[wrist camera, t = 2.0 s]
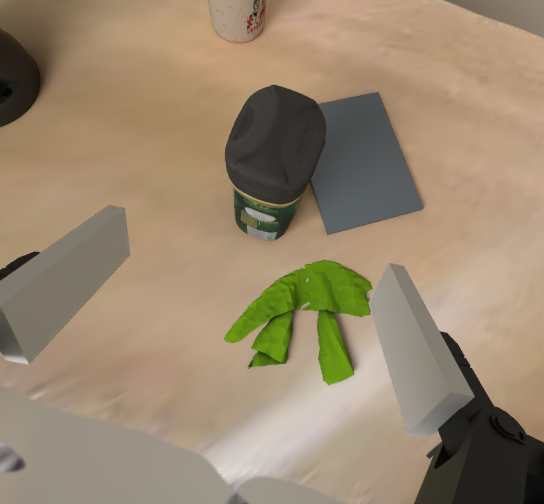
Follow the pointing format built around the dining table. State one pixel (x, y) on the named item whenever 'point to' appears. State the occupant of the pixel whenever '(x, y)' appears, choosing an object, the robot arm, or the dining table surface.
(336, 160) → the mat
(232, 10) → the teacup with lid
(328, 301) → the cloth
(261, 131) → the coffee jar
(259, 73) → the dining table surface
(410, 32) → the dining table surface
